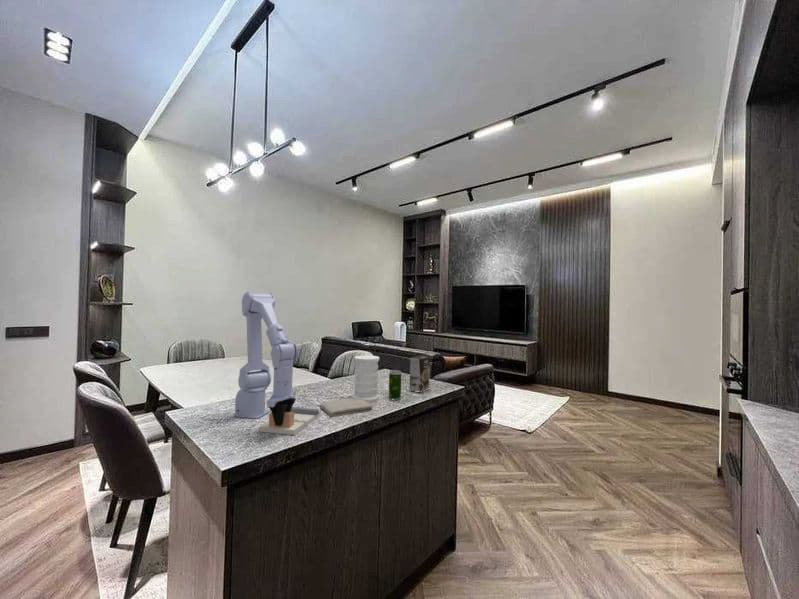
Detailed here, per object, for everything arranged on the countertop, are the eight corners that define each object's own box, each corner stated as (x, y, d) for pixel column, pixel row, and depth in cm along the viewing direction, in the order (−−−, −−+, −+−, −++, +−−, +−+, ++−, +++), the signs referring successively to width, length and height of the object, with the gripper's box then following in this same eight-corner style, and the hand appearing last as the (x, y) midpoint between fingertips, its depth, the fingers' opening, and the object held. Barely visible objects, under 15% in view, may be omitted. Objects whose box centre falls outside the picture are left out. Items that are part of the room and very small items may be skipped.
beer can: (397, 396, 153) (398, 369, 153) (402, 399, 148) (403, 371, 148) (386, 397, 151) (387, 370, 151) (391, 400, 146) (391, 372, 146)
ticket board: (271, 422, 115) (271, 414, 115) (289, 412, 127) (289, 403, 127) (307, 426, 113) (307, 417, 113) (321, 415, 125) (322, 406, 125)
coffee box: (420, 393, 159) (421, 358, 159) (408, 391, 162) (409, 357, 163) (429, 389, 167) (430, 356, 167) (418, 387, 170) (419, 355, 170)
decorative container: (346, 398, 147) (347, 356, 147) (366, 393, 156) (367, 354, 156) (365, 404, 139) (366, 360, 140) (384, 398, 148) (385, 357, 148)
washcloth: (374, 411, 132) (374, 403, 132) (330, 418, 123) (330, 410, 123) (361, 403, 142) (361, 396, 142) (319, 409, 133) (319, 401, 133)
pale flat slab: (258, 431, 107) (259, 414, 107) (270, 423, 114) (271, 407, 114) (294, 435, 105) (294, 417, 105) (304, 427, 112) (305, 410, 112)
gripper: (283, 386, 101) (281, 432, 101) (304, 376, 115) (303, 417, 115) (261, 385, 102) (259, 430, 102) (285, 375, 117) (284, 415, 117)
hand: (281, 423), depth 109 cm, fingers closed on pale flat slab, 3 cm apart
